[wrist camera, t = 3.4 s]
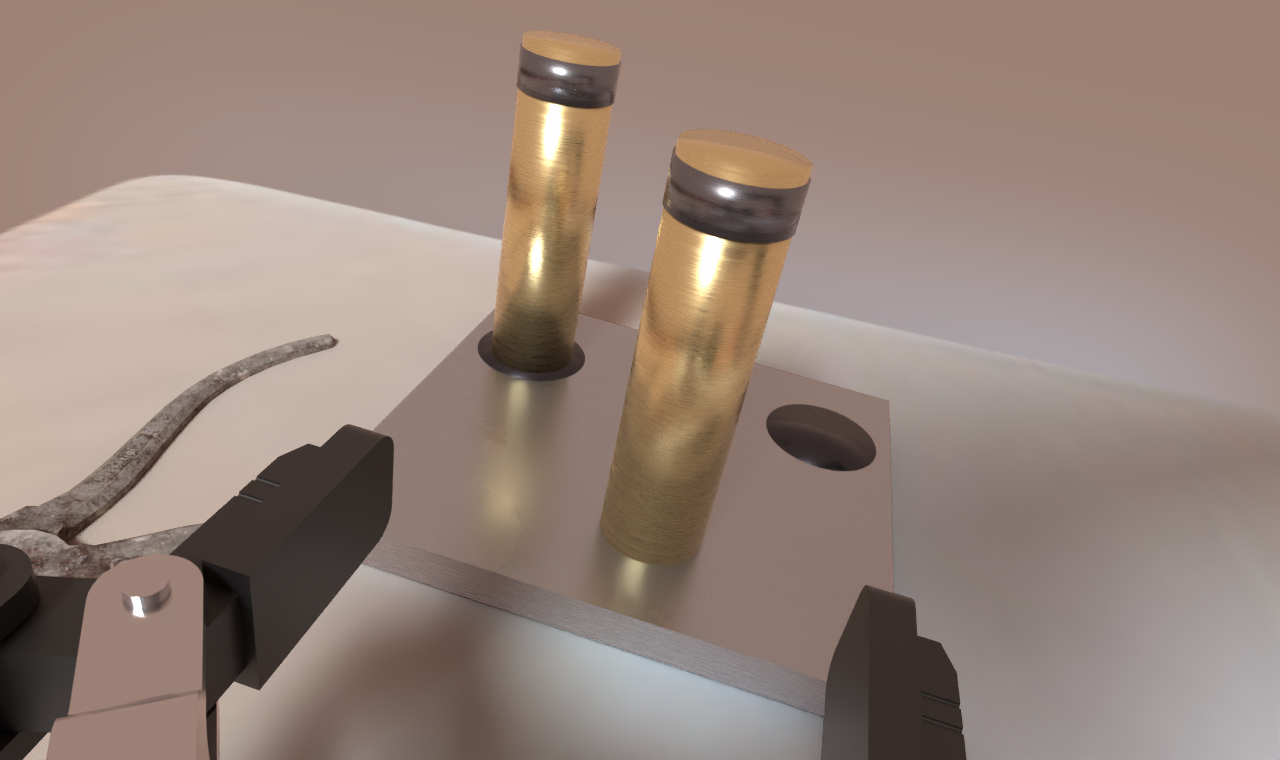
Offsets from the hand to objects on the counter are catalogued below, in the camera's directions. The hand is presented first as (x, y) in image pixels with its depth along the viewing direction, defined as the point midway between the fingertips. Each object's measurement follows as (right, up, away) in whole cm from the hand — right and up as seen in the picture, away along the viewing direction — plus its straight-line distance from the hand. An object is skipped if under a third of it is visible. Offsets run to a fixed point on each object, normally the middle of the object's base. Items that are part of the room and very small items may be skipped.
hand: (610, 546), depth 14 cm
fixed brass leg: (-4, +4, +17) cm, 18 cm away
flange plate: (+1, 0, +14) cm, 14 cm away
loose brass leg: (+1, -1, +10) cm, 10 cm away
